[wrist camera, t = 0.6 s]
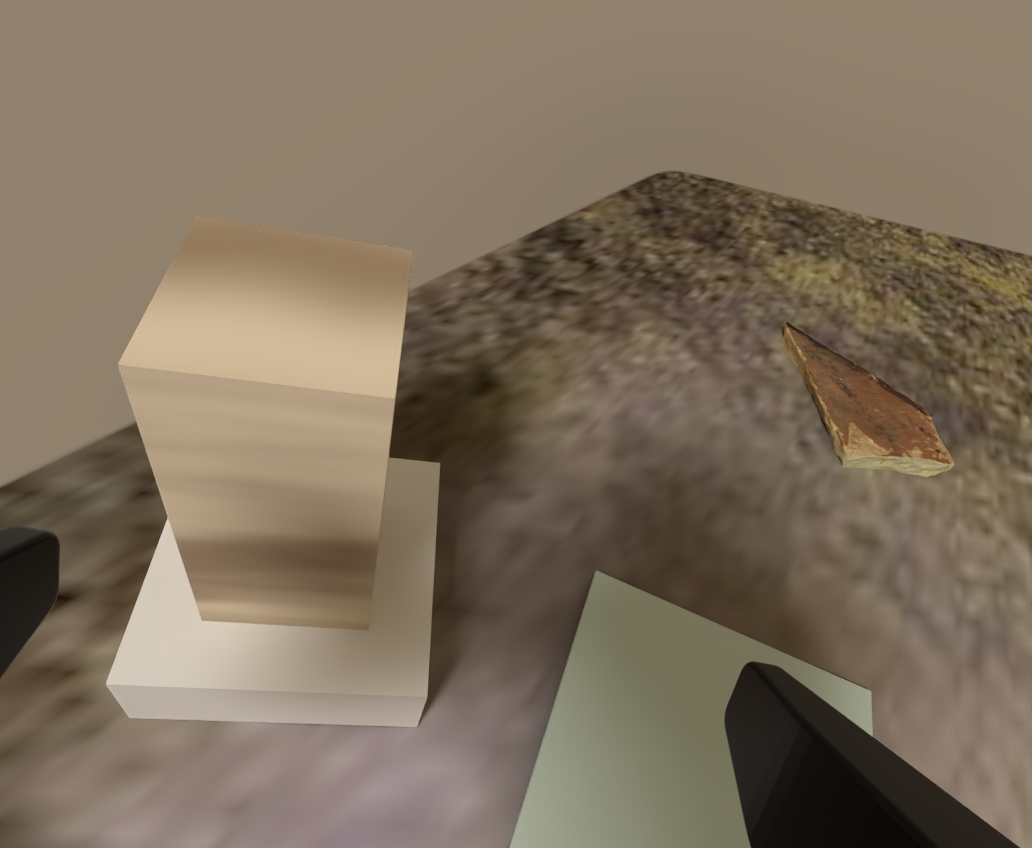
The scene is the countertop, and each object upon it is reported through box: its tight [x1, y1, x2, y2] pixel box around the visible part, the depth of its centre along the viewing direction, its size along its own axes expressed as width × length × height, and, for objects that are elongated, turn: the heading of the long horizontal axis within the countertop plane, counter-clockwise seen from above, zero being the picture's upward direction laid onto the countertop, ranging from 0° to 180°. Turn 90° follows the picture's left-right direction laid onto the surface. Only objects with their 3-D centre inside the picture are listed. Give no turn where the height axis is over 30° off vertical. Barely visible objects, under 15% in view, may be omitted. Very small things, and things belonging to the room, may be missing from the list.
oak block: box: [118, 215, 413, 630], centre depth 18 cm, size 5×5×11 cm
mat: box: [508, 570, 873, 848], centre depth 23 cm, size 12×12×1 cm
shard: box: [781, 322, 954, 477], centre depth 39 cm, size 11×8×2 cm
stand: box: [106, 458, 440, 727], centre depth 23 cm, size 9×9×3 cm
